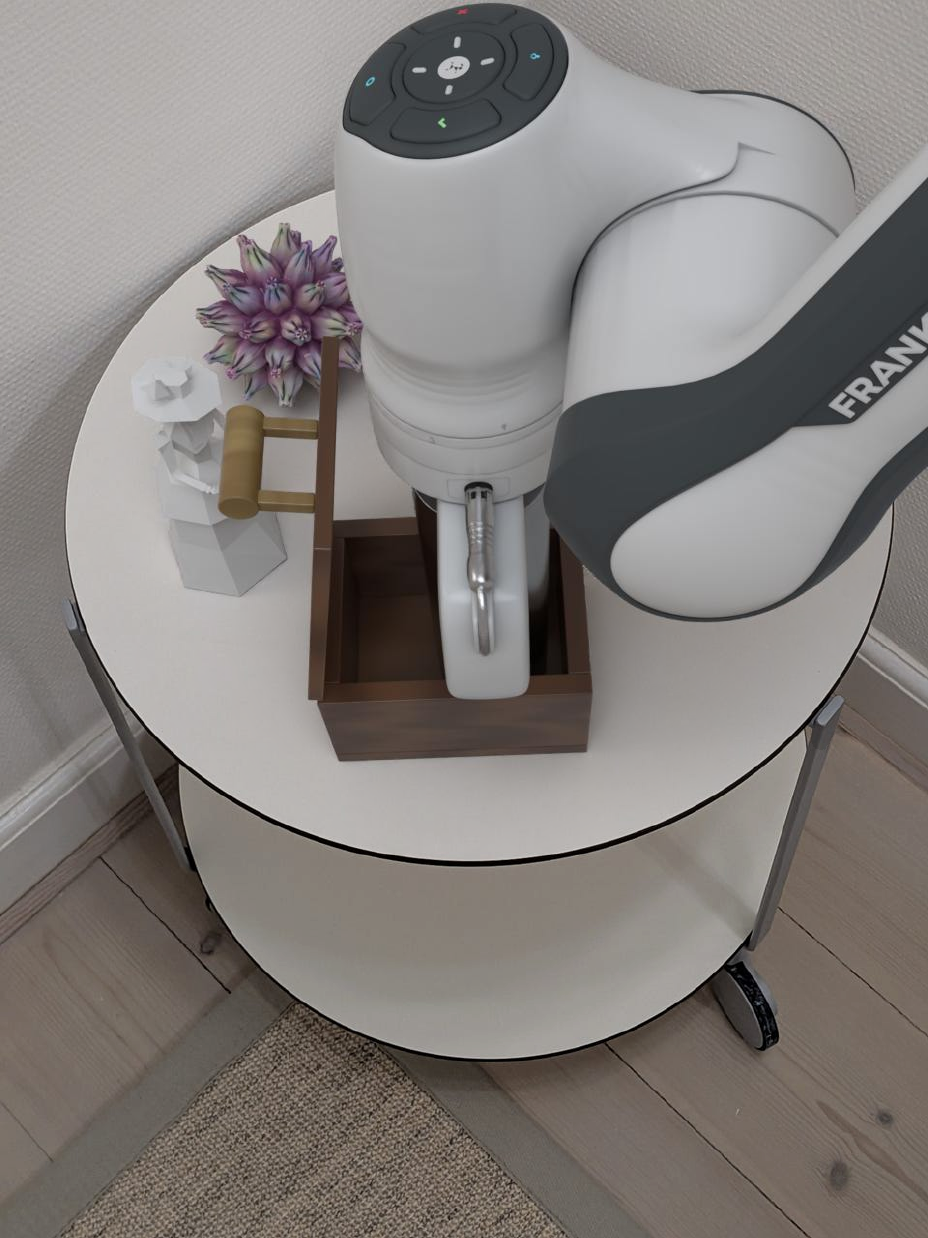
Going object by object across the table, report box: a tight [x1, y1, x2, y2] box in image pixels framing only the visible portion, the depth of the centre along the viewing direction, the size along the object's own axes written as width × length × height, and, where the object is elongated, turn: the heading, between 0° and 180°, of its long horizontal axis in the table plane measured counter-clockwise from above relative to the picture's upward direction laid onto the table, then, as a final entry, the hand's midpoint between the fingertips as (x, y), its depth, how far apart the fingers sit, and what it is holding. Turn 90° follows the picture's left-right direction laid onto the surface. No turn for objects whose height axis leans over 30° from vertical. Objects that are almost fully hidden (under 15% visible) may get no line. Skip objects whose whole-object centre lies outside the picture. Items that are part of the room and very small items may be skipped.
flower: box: [194, 222, 363, 409], centre depth 81 cm, size 12×12×12 cm
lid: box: [218, 336, 340, 701], centre depth 60 cm, size 15×11×5 cm
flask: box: [410, 482, 550, 679], centre depth 64 cm, size 6×6×20 cm
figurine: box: [130, 355, 288, 598], centre depth 71 cm, size 7×8×18 cm
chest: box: [316, 516, 593, 762], centre depth 71 cm, size 14×11×8 cm
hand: (486, 564), depth 64 cm, fingers closed on flask, 6 cm apart
